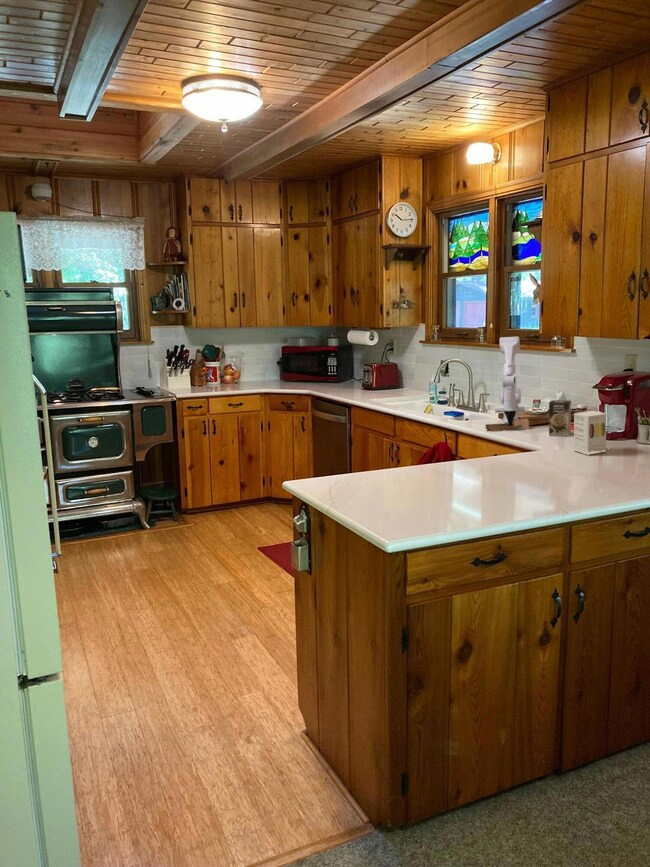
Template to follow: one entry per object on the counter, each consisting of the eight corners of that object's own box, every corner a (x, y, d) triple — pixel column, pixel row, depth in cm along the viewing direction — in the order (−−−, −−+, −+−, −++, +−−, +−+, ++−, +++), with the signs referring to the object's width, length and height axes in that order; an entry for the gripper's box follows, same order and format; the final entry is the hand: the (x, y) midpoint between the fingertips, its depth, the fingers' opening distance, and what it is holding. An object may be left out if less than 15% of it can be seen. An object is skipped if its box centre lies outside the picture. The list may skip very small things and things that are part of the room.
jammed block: (513, 427, 351) (512, 419, 350) (527, 427, 350) (527, 418, 349) (514, 429, 347) (513, 420, 346) (528, 428, 346) (528, 420, 345)
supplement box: (587, 456, 289) (587, 416, 286) (573, 451, 298) (573, 413, 294) (606, 452, 292) (607, 413, 289) (591, 448, 301) (591, 410, 297)
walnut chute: (485, 428, 355) (485, 423, 354) (519, 426, 352) (519, 421, 352) (487, 431, 347) (486, 426, 347) (521, 430, 345) (521, 424, 344)
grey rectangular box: (548, 436, 328) (548, 402, 325) (551, 433, 334) (550, 399, 330) (569, 436, 324) (568, 402, 320) (571, 433, 329) (571, 400, 326)
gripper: (495, 401, 343) (496, 428, 346) (525, 400, 341) (526, 427, 344) (494, 399, 350) (494, 425, 353) (523, 397, 348) (524, 424, 351)
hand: (510, 426), depth 349 cm, fingers closed
